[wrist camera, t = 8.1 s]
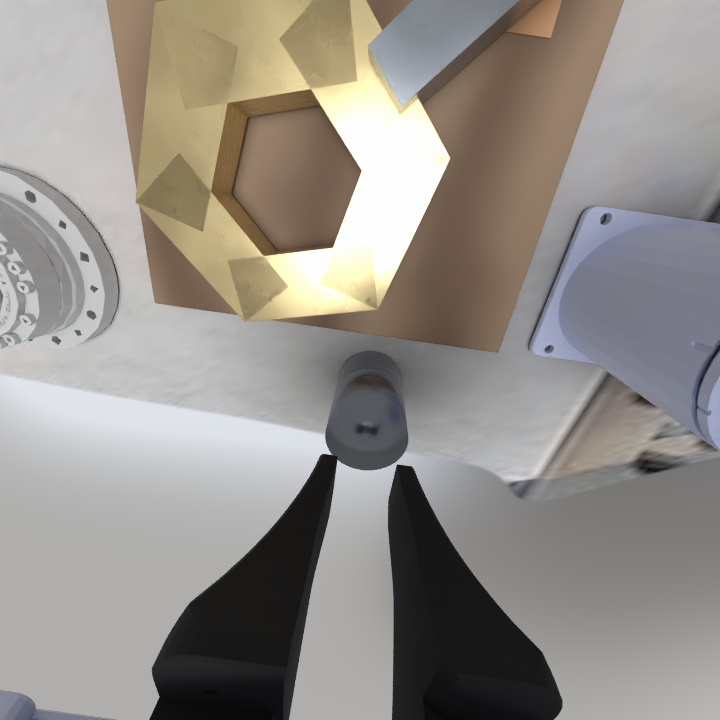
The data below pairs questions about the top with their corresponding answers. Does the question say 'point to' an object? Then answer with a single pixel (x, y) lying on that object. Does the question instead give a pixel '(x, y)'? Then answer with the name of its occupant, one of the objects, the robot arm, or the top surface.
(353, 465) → the steel pin
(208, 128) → the handled hexagon ring
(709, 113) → the top surface
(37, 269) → the mechanical component
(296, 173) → the mount board
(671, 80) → the top surface
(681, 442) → the top surface
